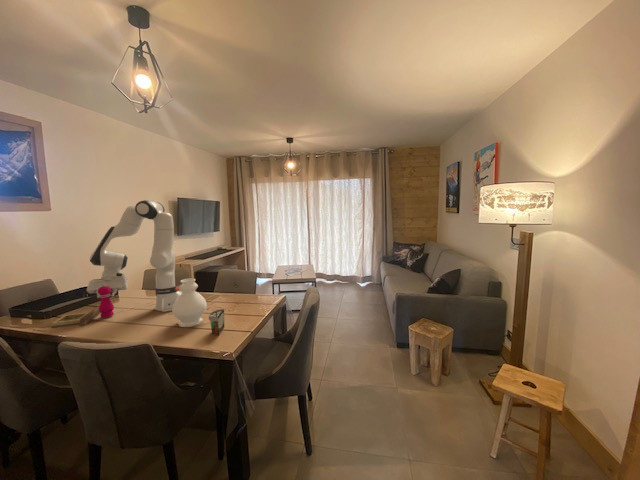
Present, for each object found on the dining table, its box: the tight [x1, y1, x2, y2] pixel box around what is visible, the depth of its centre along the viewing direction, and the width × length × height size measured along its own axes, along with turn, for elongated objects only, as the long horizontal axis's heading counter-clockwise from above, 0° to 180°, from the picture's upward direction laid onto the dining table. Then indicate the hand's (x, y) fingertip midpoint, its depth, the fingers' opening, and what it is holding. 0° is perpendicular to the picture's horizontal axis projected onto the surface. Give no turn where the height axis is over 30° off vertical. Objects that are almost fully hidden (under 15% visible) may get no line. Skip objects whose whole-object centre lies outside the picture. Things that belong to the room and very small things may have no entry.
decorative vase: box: [171, 277, 208, 328], centre depth 148 cm, size 18×18×25 cm
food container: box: [208, 308, 225, 336], centre depth 137 cm, size 12×6×10 cm, turn 5°
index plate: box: [51, 311, 90, 328], centre depth 154 cm, size 13×13×2 cm
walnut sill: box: [79, 306, 101, 327], centre depth 157 cm, size 2×20×4 cm, turn 20°
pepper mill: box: [98, 284, 115, 318], centre depth 158 cm, size 7×7×20 cm
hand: (105, 297), depth 159 cm, fingers closed on pepper mill, 5 cm apart
